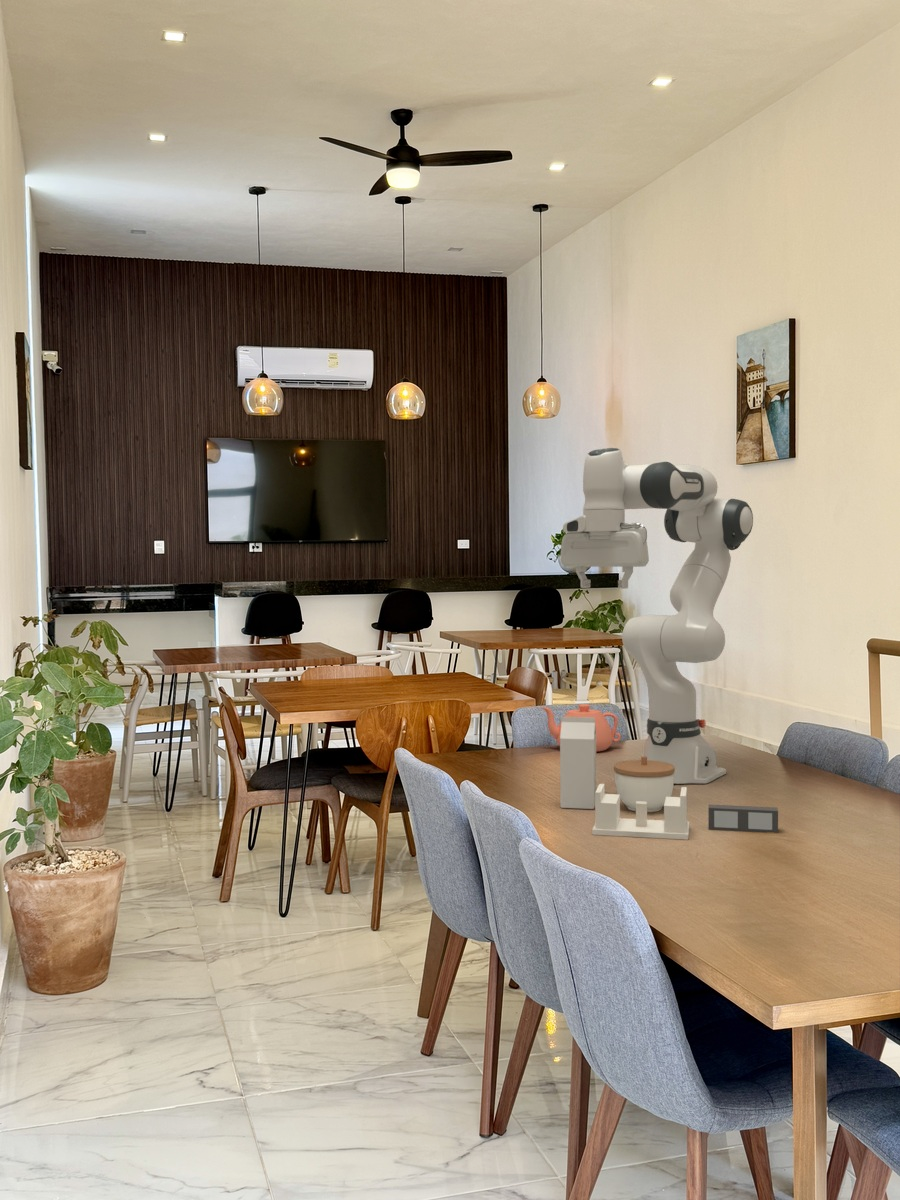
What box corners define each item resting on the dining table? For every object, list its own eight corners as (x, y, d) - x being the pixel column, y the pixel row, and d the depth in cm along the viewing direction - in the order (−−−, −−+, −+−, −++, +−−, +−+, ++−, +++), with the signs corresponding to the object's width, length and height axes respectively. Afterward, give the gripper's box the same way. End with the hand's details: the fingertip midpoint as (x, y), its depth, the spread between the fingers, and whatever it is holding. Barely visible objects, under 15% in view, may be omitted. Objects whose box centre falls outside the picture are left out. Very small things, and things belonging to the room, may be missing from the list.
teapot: (543, 755, 291) (543, 708, 291) (538, 744, 307) (538, 701, 306) (625, 754, 291) (625, 708, 291) (616, 744, 307) (616, 700, 306)
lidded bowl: (638, 818, 221) (638, 764, 220) (602, 805, 232) (602, 754, 232) (687, 811, 227) (687, 758, 226) (649, 799, 238) (649, 749, 237)
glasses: (708, 830, 211) (708, 807, 211) (708, 826, 214) (708, 804, 214) (778, 834, 208) (778, 811, 208) (777, 830, 211) (777, 807, 211)
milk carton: (594, 809, 228) (593, 720, 228) (560, 808, 230) (559, 719, 229) (596, 802, 235) (596, 715, 235) (563, 801, 237) (563, 714, 236)
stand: (592, 834, 208) (592, 793, 208) (597, 822, 218) (597, 782, 218) (688, 839, 204) (688, 797, 204) (689, 826, 214) (689, 786, 213)
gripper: (654, 522, 229) (654, 588, 229) (572, 525, 242) (573, 587, 242) (638, 522, 224) (639, 589, 224) (556, 524, 237) (557, 588, 237)
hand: (604, 588), depth 233 cm, fingers open, 8 cm apart
